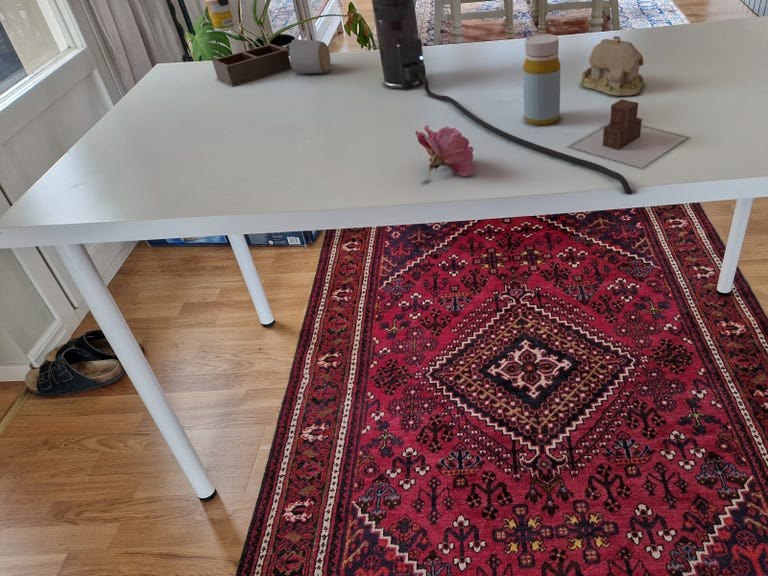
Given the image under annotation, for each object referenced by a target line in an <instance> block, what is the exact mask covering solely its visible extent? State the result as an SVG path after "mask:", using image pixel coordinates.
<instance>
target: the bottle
mask: <svg viewBox="0 0 768 576" xmlns="http://www.w3.org/2000/svg"><path fill="white" fill-rule="evenodd" d="M559 40H560V39H559V36H557V35H555V34H551V33H538V34H532V35H529V36H527V37H525V40H524V51H525V53H524V54H525V60H524V62H523V66H522V67H523V70H522V72H523V73H522V74H523V117H524V120H525V121H526V122H527V124H528V123H529V124H531V125H534V126H548V125H552V124H553V123H556V122H557V121H558V119H559V118H560V111H561V109H560V108H561V61H560V59H559V48H560V47H559V46H560V45H559V43H560V41H559Z"/></svg>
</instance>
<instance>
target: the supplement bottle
mask: <svg viewBox="0 0 768 576" xmlns="http://www.w3.org/2000/svg"><path fill="white" fill-rule="evenodd" d="M228 1H229V4H228V5H224V6H220V5H219V4H218V0H204V2H205V4H206V7H207V11H208V15H209V17H210V21H211V23H212V24H211V25H212V27H213V29H214V31H216V32H228V31H232V30H235V29H237V27H238V23H237V20H236V16H235V13H234V9H233V7H232V3H231V0H228Z"/></svg>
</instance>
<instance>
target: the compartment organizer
mask: <svg viewBox="0 0 768 576" xmlns="http://www.w3.org/2000/svg"><path fill="white" fill-rule="evenodd" d="M211 62H212V65H213V68H214V71H215V74H216V77H217V80H218V81H221V82H223V83H225V84H227V85H229V86H231V87H235V86H238V85H242V84H246V83H248V82H251V81H255V80H259V79H262V78H265V77H269V76H272V75H275V74H279V73H282V72H285V71H289V70H293V68H292V65H291V60H290V55H289V52H288V49H286V48H283V47H281V46H278V45H275V44H272V43H268V44H266V45H261V46H258V47H255V48H251V49H247V50H244V51H239V52H236V53H233V54H229V55H225V56H221V57H218V58H214V59H211Z"/></svg>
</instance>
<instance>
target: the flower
mask: <svg viewBox="0 0 768 576" xmlns="http://www.w3.org/2000/svg"><path fill="white" fill-rule="evenodd" d="M423 130H425V132H426V133H427V134H426V133H424V132H422V131H418V130H415V132H414V133H415V136H416V138H417V142H418V143H419V144H420V146H422V147H423V148H424V149H425V151H426V152H427V154H428V155H429V156H430V158H428V161H429V162H430V163H429V165H428V169H429V171H428V175H427V177H426V178H425V181H424V182H425V183H426V182H427V180H428V179H429V176H430V173H431V171H432V170H433V169H435V170H434V171H435V172H436V171H437V169H439V167H441V166H443V167H451V169H452V170H453V171H454V172H455V173H456V174H458V175H460V176H462V177H468V176H471V175H473V172H474V162H473V160H474V153H473V152H474V147H473V146H469V145H470V140H469V139H468V138H466V136H463V134H462V133H461V132H460V131H459V130H458V129H457V128H456V127H454V128H451V127H450V126H445V127H441V128H439V130H438V131H433V130H431V129H430V128H429V125H428V124H426V125H424V127H423Z"/></svg>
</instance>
